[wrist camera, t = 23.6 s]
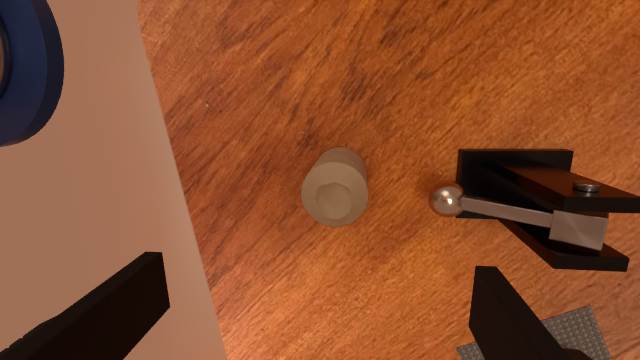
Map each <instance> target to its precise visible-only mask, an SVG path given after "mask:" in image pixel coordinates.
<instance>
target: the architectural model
mask: <svg viewBox="0 0 640 360" xmlns="http://www.w3.org/2000/svg"><path fill="white" fill-rule="evenodd" d="M541 322H542V323H543V325H544V326H545V327H546V328H547V330H548V331H549V332H550V333H551V334H552V336H553V337H554V338H555V339H556V341H557V342H558V343H559V344H560V346H561V347H562V348H564V349H579V350H581V351H582V352H583V353H585V354H586V355H588V356H589V357H590V358H592V359H593V360H611V357H610V355H609V352H608V350H607V347H606V344H605V342H604V339H603V337H602V334H601V332H600V329H599V327H598V324H597V322H596V319H595V317H594V314H593V312H592V309H591V307H590V306H586V307H583V308H580V309H577V310H574V311H571V312H568V313H565V314H561V315H558V316H555V317H552V318H549V319H546V320H543V321H541ZM456 350H457V352H458V354H459V356H460V358H461V360H485V359H484V357H483V355H482V353H481V351H480V349H479V347H478V344H477V342H474V343H471V344H468V345H465V346H462V347H458V348H456Z"/></svg>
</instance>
